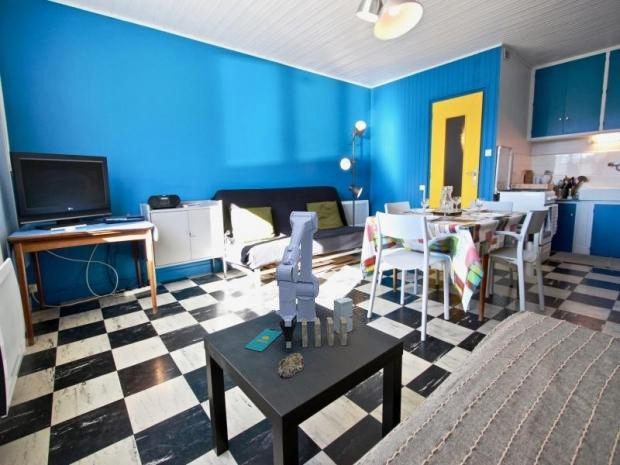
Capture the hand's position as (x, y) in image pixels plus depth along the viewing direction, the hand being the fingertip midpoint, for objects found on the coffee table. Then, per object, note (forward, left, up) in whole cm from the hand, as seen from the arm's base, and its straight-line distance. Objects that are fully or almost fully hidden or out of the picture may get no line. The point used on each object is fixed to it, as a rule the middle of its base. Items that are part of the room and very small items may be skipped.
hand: (288, 336), depth 105 cm
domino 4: (0, +14, -3) cm, 15 cm away
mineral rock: (+14, 0, -3) cm, 14 cm away
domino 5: (0, +19, -3) cm, 19 cm away
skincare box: (-8, +20, -3) cm, 22 cm away
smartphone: (-4, -8, -3) cm, 10 cm away
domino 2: (0, +6, -3) cm, 6 cm away
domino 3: (0, +10, -3) cm, 10 cm away
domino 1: (0, 0, -3) cm, 3 cm away
